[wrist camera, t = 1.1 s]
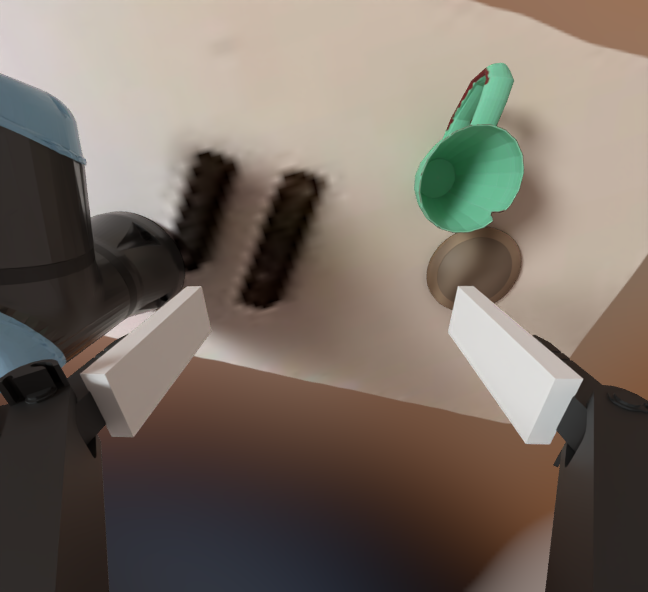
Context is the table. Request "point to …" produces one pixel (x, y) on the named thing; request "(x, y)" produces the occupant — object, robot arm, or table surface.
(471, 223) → the mug
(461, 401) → the table surface
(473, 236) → the plate
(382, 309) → the table surface
